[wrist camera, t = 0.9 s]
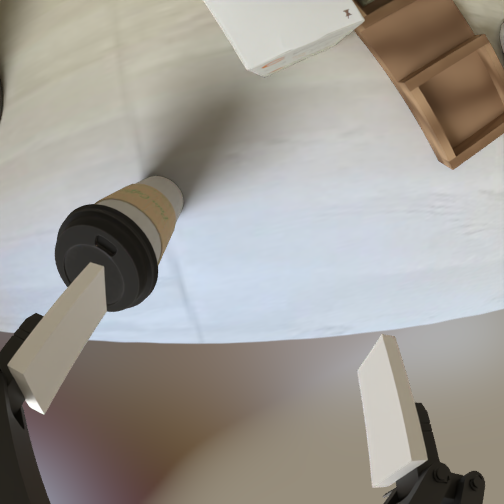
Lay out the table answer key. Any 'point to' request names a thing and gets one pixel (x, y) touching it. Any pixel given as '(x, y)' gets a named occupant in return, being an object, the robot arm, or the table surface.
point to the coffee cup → (121, 239)
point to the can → (502, 36)
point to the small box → (283, 29)
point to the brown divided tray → (438, 72)
